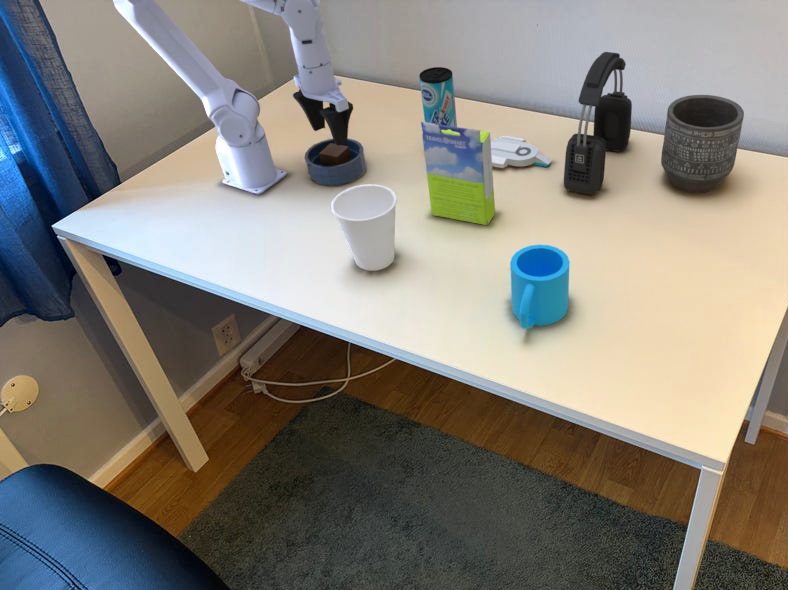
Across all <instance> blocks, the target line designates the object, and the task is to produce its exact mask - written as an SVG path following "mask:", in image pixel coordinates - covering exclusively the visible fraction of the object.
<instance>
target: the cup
mask: <svg viewBox="0 0 788 590" xmlns="http://www.w3.org/2000/svg"><path fill="white" fill-rule="evenodd" d="M397 197H398V196H397V194H396V193H395V192H394V190H393V189H391V188H390V187H388V186H385V185H381V184H373V183H369V184H368V183H367V184H359V185H354V186H351V187H348V188H346V189H344V190H342V191H341V192H339V193H338V194H337V195H336V196H335V197H334V198H333V199H332V201H331V204H330V209H331V212H332V214H333V215H334V216H335V218H336V220H337V222H338V224H339V227H340V230H341V231H342V233H343V236H344V238H345V240H346V243H347V245H348V247H349V249H350V251H351V254H352V257H353V258H354V261H355V263H356V265H357V266H358V267H359V268H360V269H363V270H364V271H368V272H369V271H370V272H377V271H381V270H384V269H386V268H388V267H389V266H390V265H392V263H393V262H394V261H395V252H396V251H395V248H396V247H395V245H396V244H395V241H396V206H397V203H398V198H397Z"/></svg>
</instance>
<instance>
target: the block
mask: <svg viewBox="0 0 788 590" xmlns="http://www.w3.org/2000/svg"><path fill="white" fill-rule="evenodd" d="M319 156H320V160H321V164H322V166H337V165H341V164H345V163H347V162H349V161H351V155H350V150H349V146H344V145H339V146H338V145H336V144H333V143H330V144H329V145H328V146H327V147H326V148H325V149H323V150H322V151H321V152H320V153H319Z"/></svg>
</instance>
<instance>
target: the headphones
mask: <svg viewBox="0 0 788 590" xmlns="http://www.w3.org/2000/svg"><path fill="white" fill-rule="evenodd" d="M620 56H621V55H620V53H618V52H611V51H604V52H602V53H601V54H600V55H598V57H596V59H595V60H594V61H593V62H592V64H591V65H590V68H589V69H588V71H587V74H586V76H585V79H584V81H583V84H582V87H581V90H580V94H579V97H578V101H577V102H578V103H579V104H580V105H581V106H582V108H581V112H580V117H579V123H578V130H577V133H574V134H573V135H571V137H570V138H569V139H568V140H567V144H566V148H565V157H564V170H563V171H564V172H563V186H564V189H565V190H567V191H570V192H574V193H579V194H584V195H590V196H591V195H595V194H597V193H598V192H599V191H600V190H601V189H602V187H603V183H604V179H605V169H606V168H605V167H606V165H605V164H606V155H607V154H606V152H607V151H611V152H612V151H613V152H622V151H624V150H626V148H627V147H628V144H629V140H630V137H631V131H632V130H631V129H632V111H633V109H632V108H633V104H632V100H631V99H630V98H628V95H626V94H625V92H624V91H623V85H624V84H623V83H624V81H623V80H624V79H623V78H624V76H623V71H625V69H626V64H627V63H626V61H625V60H624V58H623V57H620ZM617 71H619V91H618V73H617ZM612 73H613V76H614V77H613V78H614V79H613V81H614V88H613V92H612V93H611V92H608V93H607V94H604V95H603V91H604V88H605V86H606V85H607V82H608V80H609V78H610V76H611V74H612ZM587 106H588V110H587V114H586V118H585V124H584V131H583V133H582V126H583V120H584V116H585V112H586V108H587ZM593 107H594V114H593V115H594V116H593V135H592V134H588V128H589V123H590V117H591V112H592V109H593Z"/></svg>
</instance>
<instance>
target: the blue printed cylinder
mask: <svg viewBox="0 0 788 590" xmlns="http://www.w3.org/2000/svg"><path fill="white" fill-rule="evenodd" d="M418 77H419V85H420V94H421V103H422V109H423V110H422V111H423V118H424V122H427V123H433V124H439V125H445V126H452V127H458V122H457V121H458V120H457V110H456V100H455V99H456V98H455V87H454V76H453V71H452V70H451V69H450V68H447V67H443V66H435V67H429V68H426V69H423V70H422V71H421V72H420V73H419V76H418Z"/></svg>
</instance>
